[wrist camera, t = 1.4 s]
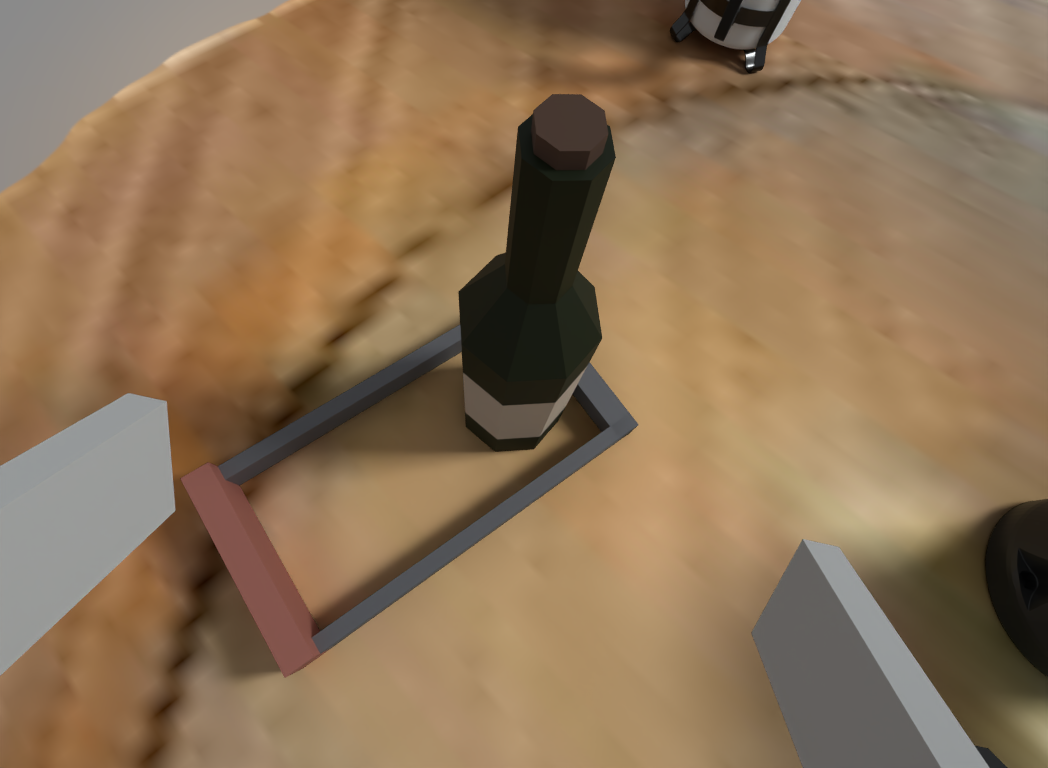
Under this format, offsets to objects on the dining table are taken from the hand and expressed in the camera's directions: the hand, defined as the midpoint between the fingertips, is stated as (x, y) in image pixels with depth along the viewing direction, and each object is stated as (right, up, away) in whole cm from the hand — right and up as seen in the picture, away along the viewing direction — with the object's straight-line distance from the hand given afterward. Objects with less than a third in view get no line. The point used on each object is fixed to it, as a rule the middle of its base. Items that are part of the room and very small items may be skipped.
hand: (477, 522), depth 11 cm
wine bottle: (0, +1, +34) cm, 34 cm away
